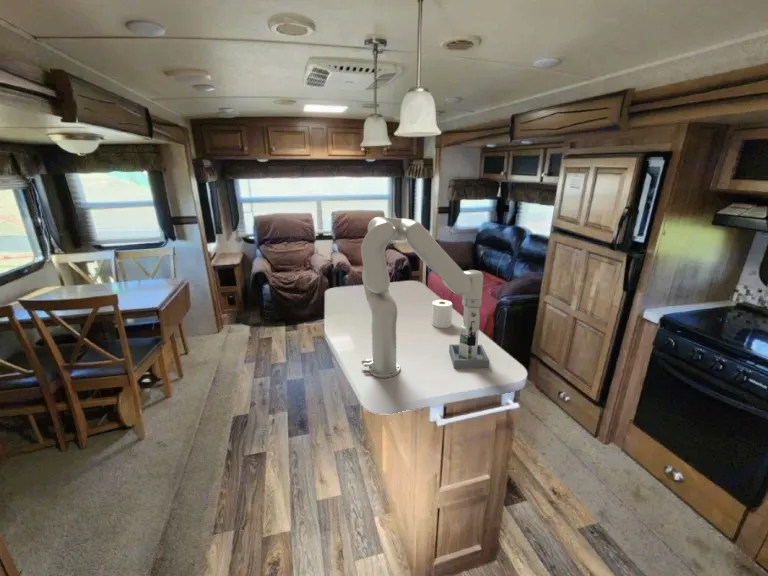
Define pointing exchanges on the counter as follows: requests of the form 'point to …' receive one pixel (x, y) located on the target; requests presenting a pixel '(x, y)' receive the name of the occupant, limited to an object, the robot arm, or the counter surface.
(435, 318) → the toilet paper
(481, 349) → the box
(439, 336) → the counter surface
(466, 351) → the syrup box
